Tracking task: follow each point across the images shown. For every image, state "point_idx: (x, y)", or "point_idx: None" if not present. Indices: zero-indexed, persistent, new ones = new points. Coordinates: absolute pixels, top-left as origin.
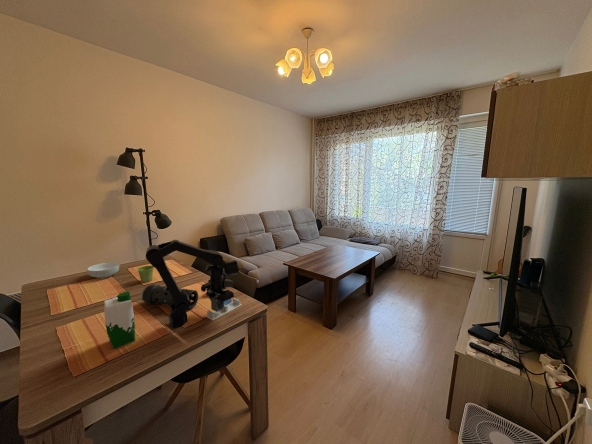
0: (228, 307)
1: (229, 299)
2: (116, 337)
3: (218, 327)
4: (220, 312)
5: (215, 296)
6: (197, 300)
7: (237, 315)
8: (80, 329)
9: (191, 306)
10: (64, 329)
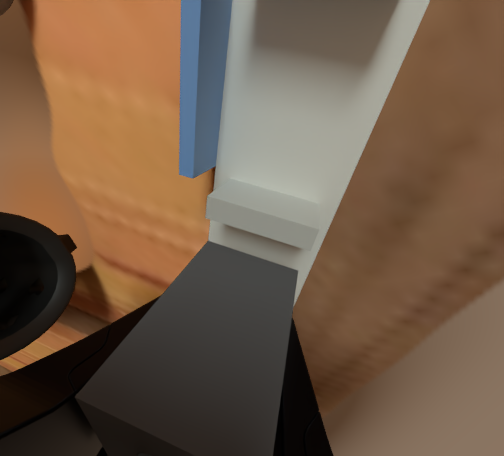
0: (281, 140)
1: (196, 11)
2: None
3: (359, 357)
4: (266, 245)
5: (116, 445)
6: (5, 216)
7: (464, 211)
8: (22, 366)
9: (58, 264)
10: (8, 366)
